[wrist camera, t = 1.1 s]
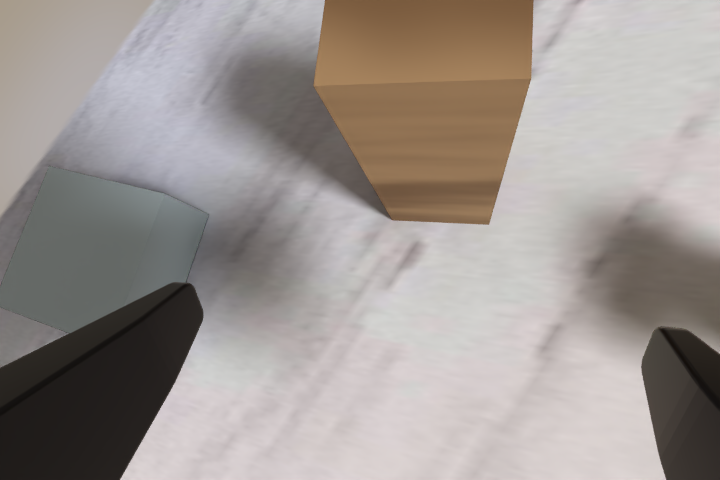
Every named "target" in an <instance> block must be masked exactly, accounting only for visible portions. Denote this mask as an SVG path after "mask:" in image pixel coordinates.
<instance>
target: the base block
mask: <svg viewBox="0 0 720 480" xmlns="http://www.w3.org/2000/svg"><path fill="white" fill-rule="evenodd" d="M208 216H209V214H207V213H205V212H203V211H201V210H198V209H196V208H194V207H192V206H190V205H188V204H186V203H184V202H181V201H179V200H177V199H175V198H173V197H171V196H169V195H166V194H164V193H160V192H156V191H152V190H147V189H143V188H139V187H135V186H131V185H127V184H122V183H118V182H114V181H110V180H106V179H102V178H98V177H93V176H89V175H85V174H81V173H77V172H73V171H68V170H64V169H60V168H56V167H52V166H49V168H48V170H47V172H46V175H45V177H44V180H43V182H42V185H41V187H40V190H39V192H38V195H37V197H36V199H35V202H34V204H33V207H32V209H31V212H30V214H29V217H28V219H27V222H26V224H25V227H24V229H23V231H22V234H21V236H20V239H19V241H18V244H17V246H16V249H15V251H14V254H13V256H12V258H11V261H10V263H9V266H8V268H7V271H6V273H5V276H4V278H3V281H2V283H1V286H0V307H1V308H4V309H6V310H9V311H12V312H14V313H17V314H20V315H22V316H25V317H27V318H30V319H33V320H35V321H38V322H41V323H43V324H46V325H49V326H51V327H54V328H57V329H59V330H62V331H64V332H67V333H71V332H73V331H75V330H77V329H79V328H81V327H83V326H85V325H87V324H89V323H91V322H93V321H95V320H97V319H99V318H101V317H103V316H105V315H107V314H109V313H111V312H113V311H115V310H117V309H119V308H121V307H124V306H126V305H128V304H130V303H132V302H134V301H136V300H138V299H140V298H142V297H144V296H146V295H148V294H150V293H152V292H154V291H156V290H158V289H160V288H162V287H164V286H166V285H168V284H170V283H172V282H184V283H186V280H187V277H188V274H189V271H190V268H191V265H192V262H193V260H194V257H195V254H196V251H197V248H198V245H199V242H200V239H201V236H202V233H203V230H204V227H205V224H206V221H207V218H208Z"/></svg>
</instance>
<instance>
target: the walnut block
mask: <svg viewBox="0 0 720 480" xmlns="http://www.w3.org/2000/svg"><path fill="white" fill-rule="evenodd" d="M532 30H533V0H325V5H324V12H323V20H322V27H321V34H320V42H319V49H318V56H317V64H316V71H315V78H314V85H313V86H314V88H315V89H316V91H317V93H318V95H319V96H320V98H321V100H322V101H323V103H324V105H325V106H326V108H327V110H328V112H329V113H330V115H331V117H332V118H333V120H334V122H335V123H336V125H337V127H338V129H339V130H340V132H341V134H342V135H343V137H344V139H345V140H346V142H347V144H348V146H349V147H350V149H351V151H352V152H353V154H354V156H355V157H356V159H357V161H358V163H359V164H360V166H361V168H362V169H363V171H364V173H365V174H366V176H367V178H368V180H369V181H370V183H371V185H372V186H373V188H374V190H375V191H376V193H377V195H378V197H379V198H380V200H381V202H382V203H383V205H384V207H385V208H386V210H387V212H388V214H389V215H390V217H391V219H392V220H399V221H421V222H443V223H465V224H487V225H489V222H490V219H491V216H492V212H493V209H494V205H495V202H496V198H497V195H498V191H499V188H500V184H501V181H502V178H503V174H504V171H505V167H506V164H507V160H508V157H509V153H510V150H511V146H512V143H513V139H514V136H515V133H516V129H517V126H518V122H519V119H520V115H521V112H522V108H523V105H524V101H525V98H526V95H527V91H528V88H529V84H530V81H531V65H532Z"/></svg>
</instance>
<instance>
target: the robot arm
mask: <svg viewBox="0 0 720 480" xmlns="http://www.w3.org/2000/svg"><path fill="white" fill-rule="evenodd" d="M202 321H203V309H202V306H201V304H200V301H199V298H198V296H197V293H196V290H195V288H194V286H193V285H192V284H190V283H184V282H172V283H170V284H168V285H166V286H164V287H162V288H160V289H158V290H156V291H154V292H152V293H150V294H148V295H146V296H144V297H142V298H140V299H138V300H136V301H134V302H132V303H130V304H128V305H126V306H124V307H121V308H119V309H117V310H115V311H113V312H111V313H109V314H107V315H105V316H103V317H101V318H99V319H97V320H95V321H93V322H91V323H89V324H87V325H85V326H83V327H81V328H79V329H77V330H75V331H73V332H71V333H69V334H67V335H65V336H63V337H61V338H59V339H57V340H55V341H53V342H51V343H49V344H47V345H45V346H43V347H41V348H39V349H37V350H35V351H33V352H31V353H29V354H27V355H25V356H23V357H21V358H19V359H17V360H15V361H13V362H11V363H9V364H7V365H5V366H3V367H1V368H0V480H120V479H121V477H122V475H123V473H124V472H125V470H126V468H127V466H128V465H129V463H130V461H131V459H132V457H133V456H134V454H135V452H136V450H137V449H138V447H139V445H140V443H141V442H142V440H143V438H144V436H145V435H146V433H147V431H148V429H149V428H150V426H151V424H152V422H153V421H154V419H155V417H156V415H157V413H158V412H159V410H160V408H161V406H162V405H163V403H164V401H165V399H166V398H167V396H168V394H169V392H170V390H171V389H172V387H173V385H174V383H175V381H176V379H177V377H178V375H179V373H180V370H181V368H182V366H183V364H184V362H185V359H186V357H187V355H188V353H189V350H190V348H191V346H192V344H193V341H194V339H195V337H196V335H197V332H198V330H199V328H200V326H201V323H202ZM641 368H642V376H643V381H644V386H645V390H646V395H647V400H648V405H649V410H650V415H651V420H652V424H653V429H654V434H655V439H656V444H657V448H658V452H659V457H660V461H661V464H662V467H663V470H664V474H665V477H666V480H720V354H719V353H718V352H716V351H715V350H714V349H712V348H711V347H710V346H708V345H707V344H706V343H704V342H703V341H702V340H701V339H699V338H698V337H697V336H695V335H694V334H693V333H691V332H690V331H688V330H686V329H682V328H673V327H658V328H656V329H655V330H654V332H653V334H652V336H651V339H650V341H649V344H648V346H647V349H646V351H645V354H644V356H643V359H642V366H641Z"/></svg>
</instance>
